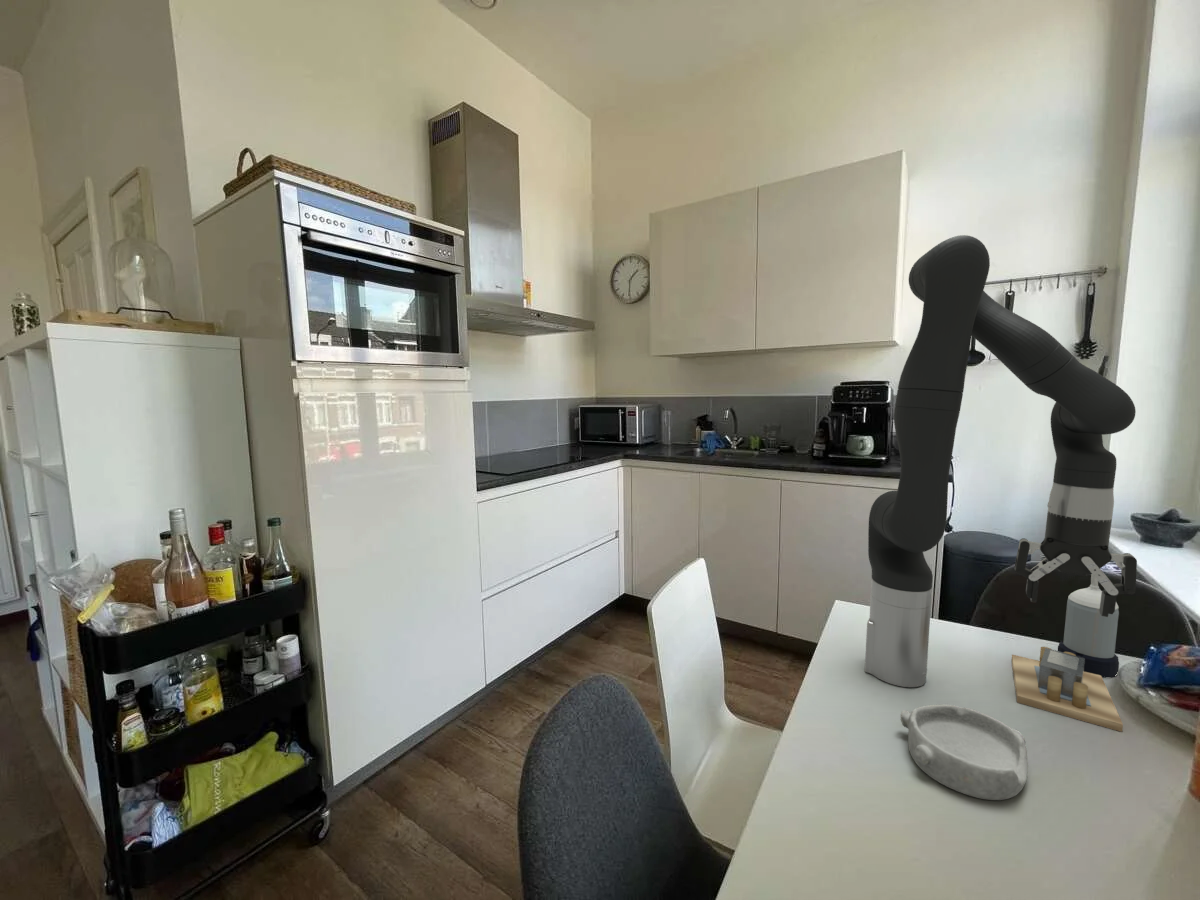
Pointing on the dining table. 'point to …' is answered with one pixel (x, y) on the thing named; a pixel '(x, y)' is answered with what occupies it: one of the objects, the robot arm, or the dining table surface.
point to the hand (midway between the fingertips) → (1067, 607)
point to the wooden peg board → (1084, 705)
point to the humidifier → (1091, 631)
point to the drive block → (1061, 670)
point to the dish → (967, 750)
